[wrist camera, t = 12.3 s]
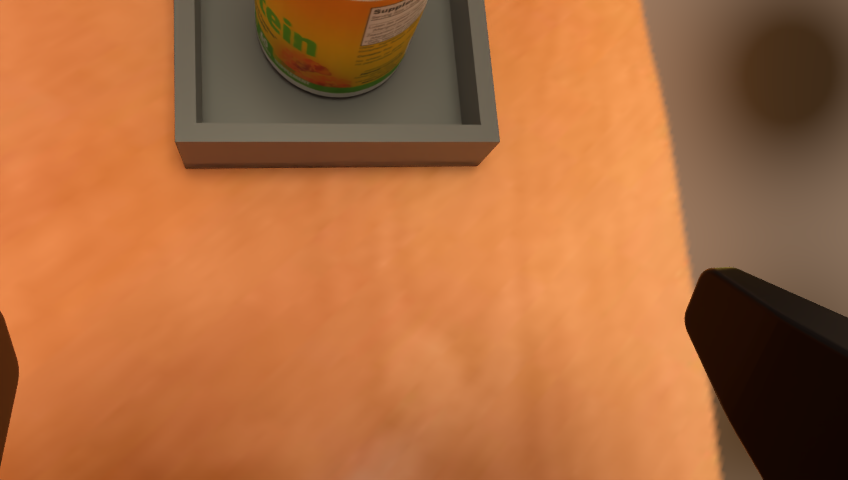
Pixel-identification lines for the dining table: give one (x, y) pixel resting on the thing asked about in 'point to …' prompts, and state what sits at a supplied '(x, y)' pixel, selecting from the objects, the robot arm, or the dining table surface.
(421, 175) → the dining table surface
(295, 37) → the supplement bottle
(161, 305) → the dining table surface
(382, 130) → the charcoal tray
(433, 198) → the dining table surface
